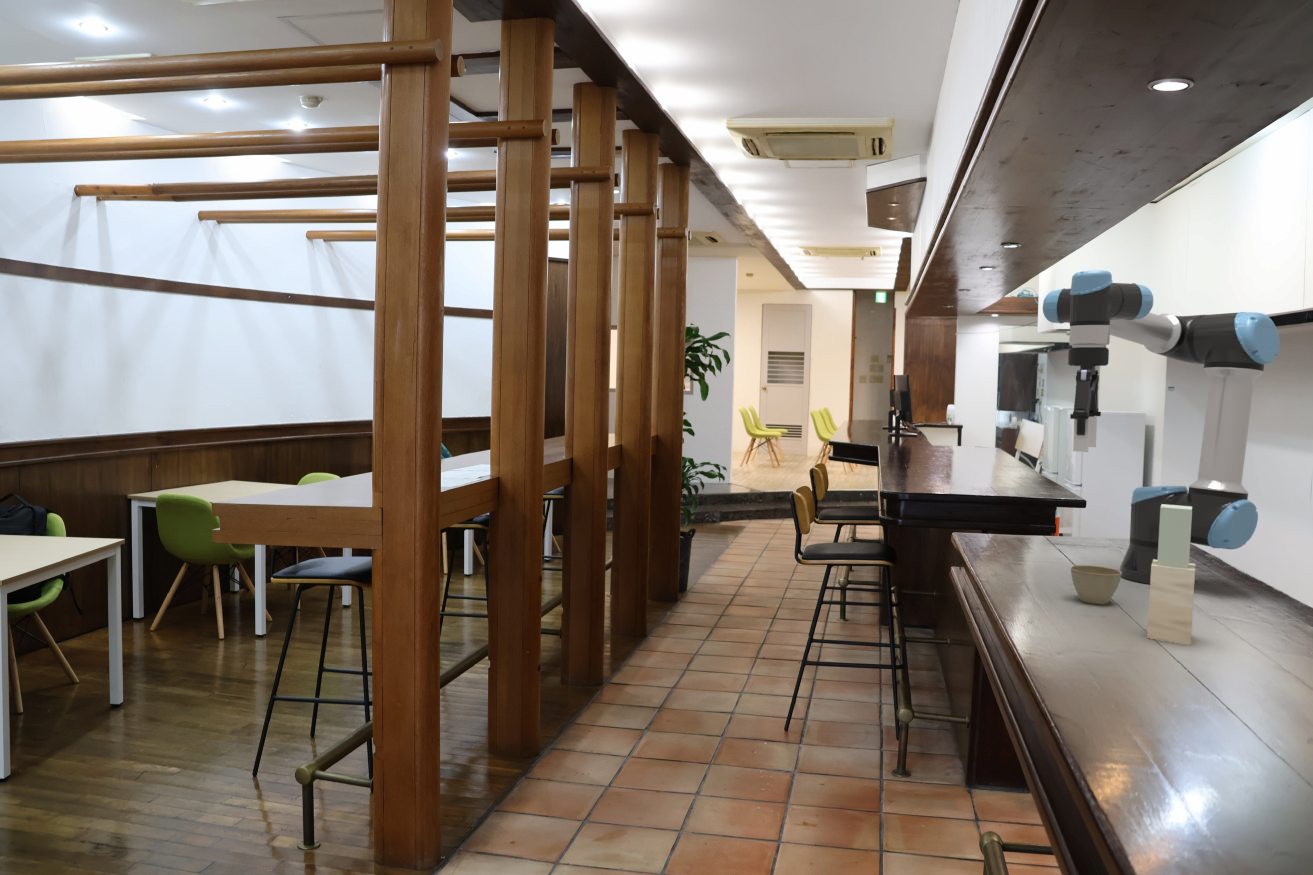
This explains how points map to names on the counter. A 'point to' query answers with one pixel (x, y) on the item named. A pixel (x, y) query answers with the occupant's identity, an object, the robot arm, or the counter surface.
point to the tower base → (1170, 623)
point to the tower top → (1172, 585)
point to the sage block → (1174, 536)
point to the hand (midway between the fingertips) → (1084, 449)
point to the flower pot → (1095, 583)
